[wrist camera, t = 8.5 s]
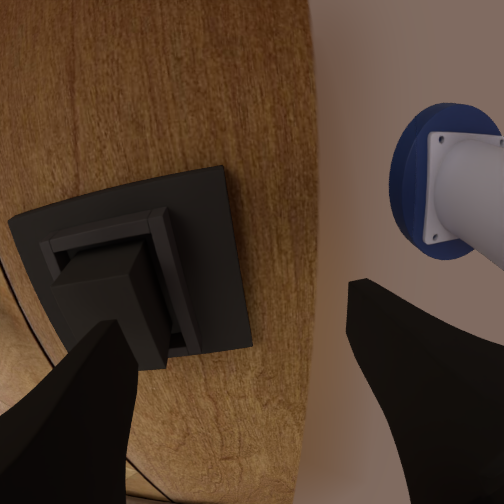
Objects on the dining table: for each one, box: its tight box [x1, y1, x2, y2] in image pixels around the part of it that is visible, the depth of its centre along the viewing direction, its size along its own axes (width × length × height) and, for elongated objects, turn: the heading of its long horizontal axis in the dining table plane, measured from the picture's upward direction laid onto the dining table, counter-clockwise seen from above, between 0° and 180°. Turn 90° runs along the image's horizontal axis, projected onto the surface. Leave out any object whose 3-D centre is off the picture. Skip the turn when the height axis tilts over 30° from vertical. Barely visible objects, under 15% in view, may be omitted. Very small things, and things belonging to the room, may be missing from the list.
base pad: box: [8, 165, 253, 358], centre depth 17 cm, size 14×12×2 cm
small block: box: [50, 239, 173, 371], centre depth 16 cm, size 4×6×4 cm
